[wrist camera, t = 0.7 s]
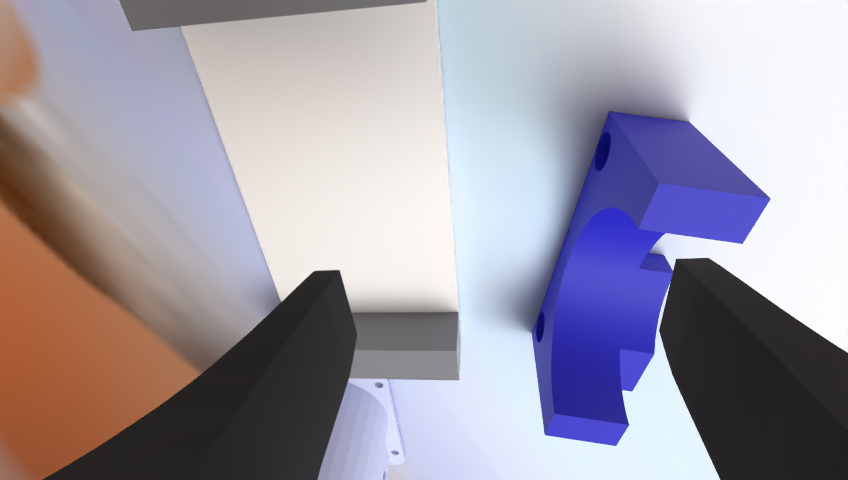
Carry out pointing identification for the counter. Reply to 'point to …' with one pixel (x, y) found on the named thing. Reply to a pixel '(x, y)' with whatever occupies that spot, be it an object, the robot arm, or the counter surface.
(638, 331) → the cable clip
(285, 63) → the clip dock
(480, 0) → the counter surface
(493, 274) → the counter surface
